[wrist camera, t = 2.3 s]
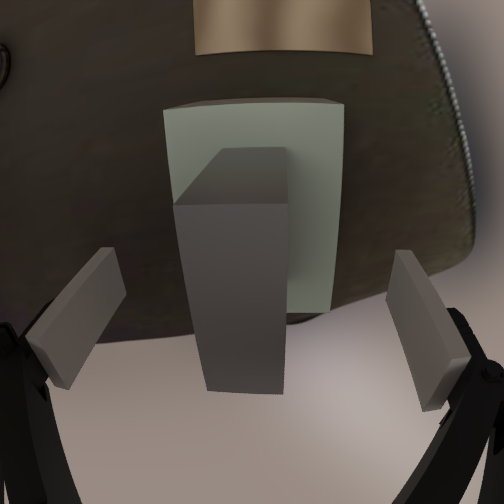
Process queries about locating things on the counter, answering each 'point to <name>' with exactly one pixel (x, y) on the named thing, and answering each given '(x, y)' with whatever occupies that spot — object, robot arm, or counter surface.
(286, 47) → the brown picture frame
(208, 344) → the green base grey block
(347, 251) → the counter surface
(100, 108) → the counter surface
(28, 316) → the counter surface
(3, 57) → the pill bottle
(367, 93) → the counter surface
